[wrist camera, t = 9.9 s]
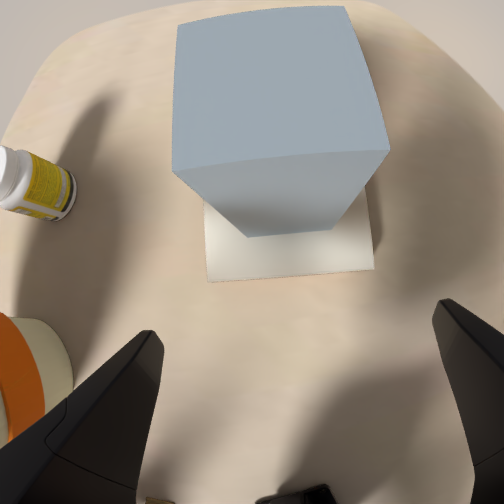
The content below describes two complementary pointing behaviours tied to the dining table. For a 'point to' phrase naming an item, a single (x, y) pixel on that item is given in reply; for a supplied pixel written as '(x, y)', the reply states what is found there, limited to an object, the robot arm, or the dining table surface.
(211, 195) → the slate block
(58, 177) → the supplement bottle
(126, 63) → the dining table surface
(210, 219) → the plinth
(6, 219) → the dining table surface
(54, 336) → the reusable coffee cup
